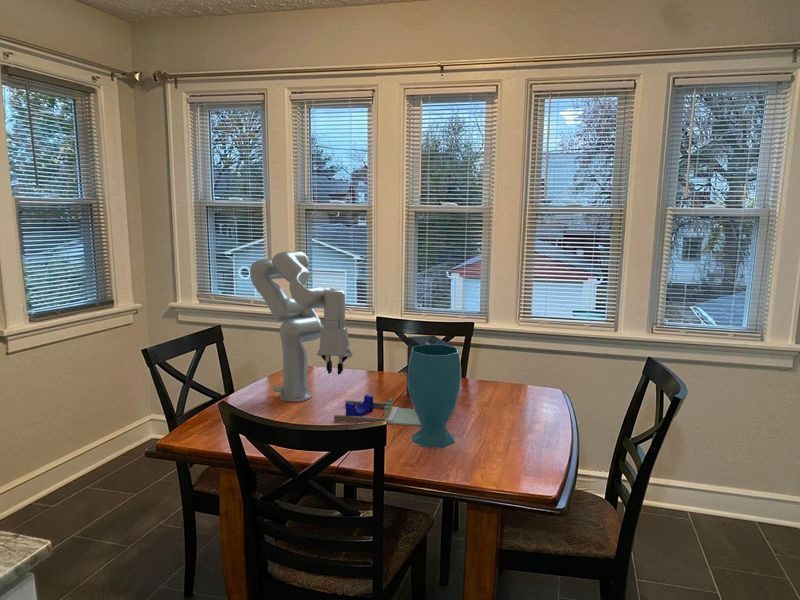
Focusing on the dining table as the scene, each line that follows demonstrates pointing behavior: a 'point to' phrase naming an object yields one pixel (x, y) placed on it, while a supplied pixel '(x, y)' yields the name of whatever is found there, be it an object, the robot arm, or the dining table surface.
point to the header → (390, 415)
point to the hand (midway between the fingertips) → (334, 372)
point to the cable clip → (360, 407)
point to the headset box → (421, 341)
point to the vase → (434, 391)
